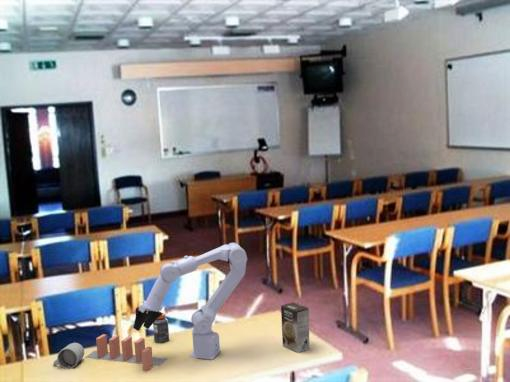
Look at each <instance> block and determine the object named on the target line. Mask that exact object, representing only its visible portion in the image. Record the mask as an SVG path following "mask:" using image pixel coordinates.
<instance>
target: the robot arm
mask: <svg viewBox="0 0 510 382" xmlns="http://www.w3.org/2000/svg"><path fill="white" fill-rule="evenodd" d="M217 260H221V261H225V262H229V267H230V271H228V274H227V275H226V276H225V277H224V279H223V280H222V281H221V283H220V284H219V285H218V287H217V288H216V290H215V291H214V292H213V293H212V295H211V296H210V297H209V299H208V300H207V302H206V303H205V304H204V305H202V306H201V307H200V308H199V309H198V310H196V311H194V312H193V313H192V314H191V318H190V320H191V323H192V324H193V329H192V330H191V334H192V346H193V352H192V353H190V355H189V358H195V359H204V360H214V359H215V358H216V357H217V356H218V355H219V353H221V352H222V350H221V349H220V348H221V347H220V346H221V345H220V336H219V333H218V332H216V331H214V330H213V329H212V326H213V323H214V322H215V320H216V316H217V313H218V312H219V310H220V309H221V308H222V307H223V305H224V304H225V302H226V301H227V300H228V298H229V297H230V296H231V294H232V293H233V291H234V290H235V289H236V287H237V286H238V284H239V283H240V282H241V281H242V279H243V278H244V277H245V275H246V267H247V262H248V256H247V253H246V251H245V249H244V248H243V247H241V246H240V245H239V243H237V242H230V243H228V244H223V245H221V246H219V247H217V248H214V249H212V250H210V251H207V252H205V253H202V254H200V255H198V256H193V255H189V256H188V255H184V256H183V258H180V259H178V260H173V261H172V260H171V263H170V262H166V263H164V264H163V265H162V266H160V268H159V273H160V274H159V275H158V277H157V279H156V280H155V282H154V284H153V286H152V288H151V289H150V291H149V294H148V296H147V298H146V300H144V299H143V300H142V301H141V303H142V304H141V305H140V306H139V307H136V308H135V310H134V311H135V317H134V318H135V319H134V323H133V329H134V330H136V331H137V332H139V331H140V330H141V328H142V327H144V328H145V329H147V330H149V329H150V328H151V327H152V326H153V323H154V322H155V320H156V319H157V318H159V317H160V316H161V315H162V313H163V312H161V311H162V309H163V307H164V306H163V303H164V301H165V299H166V297H167V295H168V293H169V291H170V288H171V285H172V284H173V283H174V282H175V281H177V279H178V277H182V276H186V275H187V274H190V273H192V272H196V271H197V269H198V267H200V266H202V265H205V264H208V263H212V262H214V261H217Z"/></svg>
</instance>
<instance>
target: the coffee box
mask: <svg viewBox="0 0 510 382" xmlns="http://www.w3.org/2000/svg"><path fill="white" fill-rule="evenodd" d="M309 309H310V308H309V307H308V306H305V305H302V304H299V303H296V302H293V301H292V302H290V303H285V304H282V305H280V310H281V311H280V313H281V314H280V315H281V316H280V317H281V334H282V338H281V339H282V347H284V348H285V349H286V348H287V349H288V350H290V349H291V351H293V352H295V353H297V352H299V353H302V352H304V350H305V351H308V350H310V349H309V348H311V347H310V343H311V342H310V313H309V311H310V310H309ZM301 351H302V352H301Z"/></svg>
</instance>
